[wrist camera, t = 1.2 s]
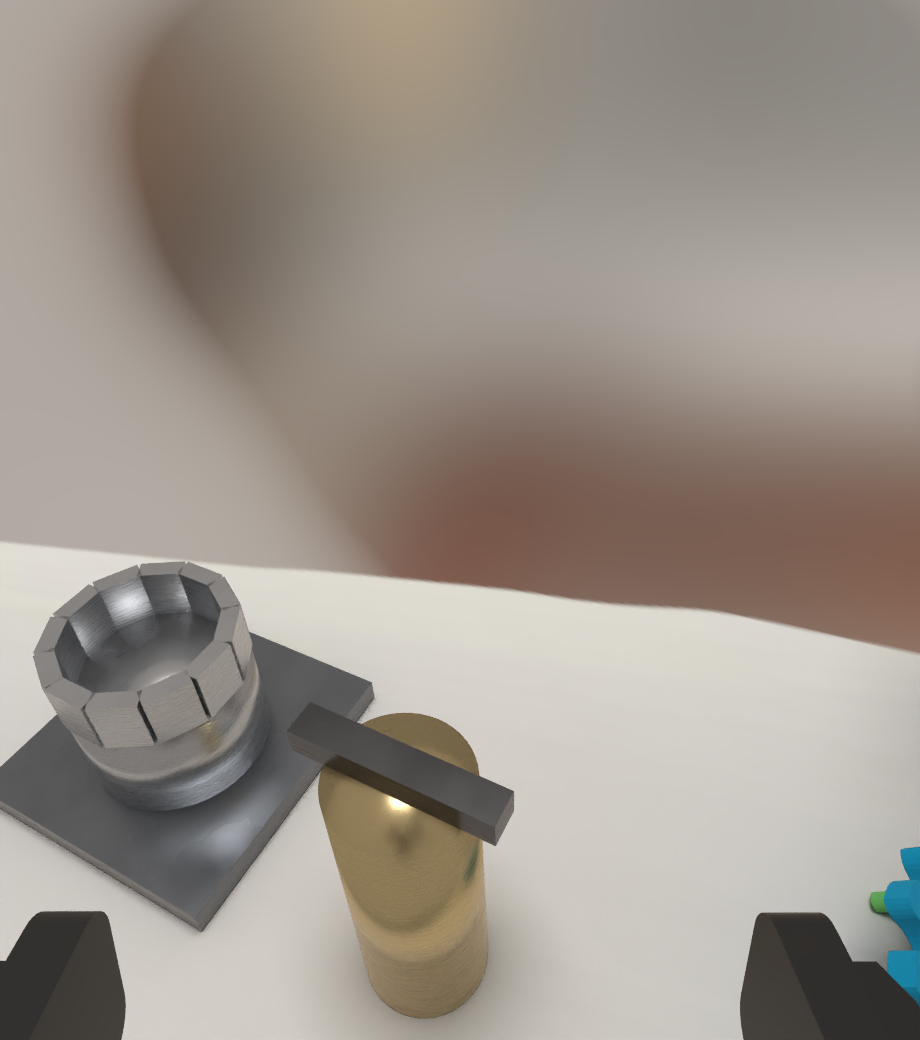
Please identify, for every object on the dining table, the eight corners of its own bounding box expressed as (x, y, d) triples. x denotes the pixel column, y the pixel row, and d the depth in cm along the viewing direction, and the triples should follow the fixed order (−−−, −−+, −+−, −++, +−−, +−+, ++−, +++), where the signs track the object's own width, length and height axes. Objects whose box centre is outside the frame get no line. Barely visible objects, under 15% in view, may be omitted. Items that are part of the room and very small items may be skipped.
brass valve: (383, 859, 35) (342, 661, 26) (533, 935, 32) (539, 741, 24) (318, 965, 32) (248, 778, 23) (478, 1059, 29) (463, 886, 21)
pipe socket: (183, 617, 46) (139, 501, 41) (374, 697, 41) (353, 577, 36) (-11, 801, 38) (-100, 686, 32) (201, 931, 33) (139, 820, 27)
